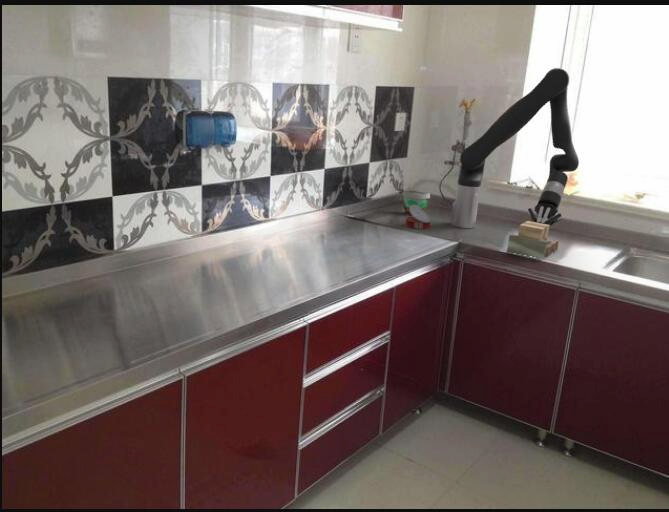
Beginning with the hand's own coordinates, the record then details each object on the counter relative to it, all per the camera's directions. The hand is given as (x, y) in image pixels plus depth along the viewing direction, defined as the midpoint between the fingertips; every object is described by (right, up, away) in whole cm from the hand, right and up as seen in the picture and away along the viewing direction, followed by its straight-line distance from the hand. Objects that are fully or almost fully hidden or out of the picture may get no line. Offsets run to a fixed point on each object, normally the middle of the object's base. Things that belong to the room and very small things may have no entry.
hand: (537, 232), depth 237 cm
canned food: (-41, +3, +23) cm, 48 cm away
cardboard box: (-3, -4, -4) cm, 6 cm away
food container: (-40, +9, +44) cm, 61 cm away
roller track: (-2, -7, 0) cm, 7 cm away
